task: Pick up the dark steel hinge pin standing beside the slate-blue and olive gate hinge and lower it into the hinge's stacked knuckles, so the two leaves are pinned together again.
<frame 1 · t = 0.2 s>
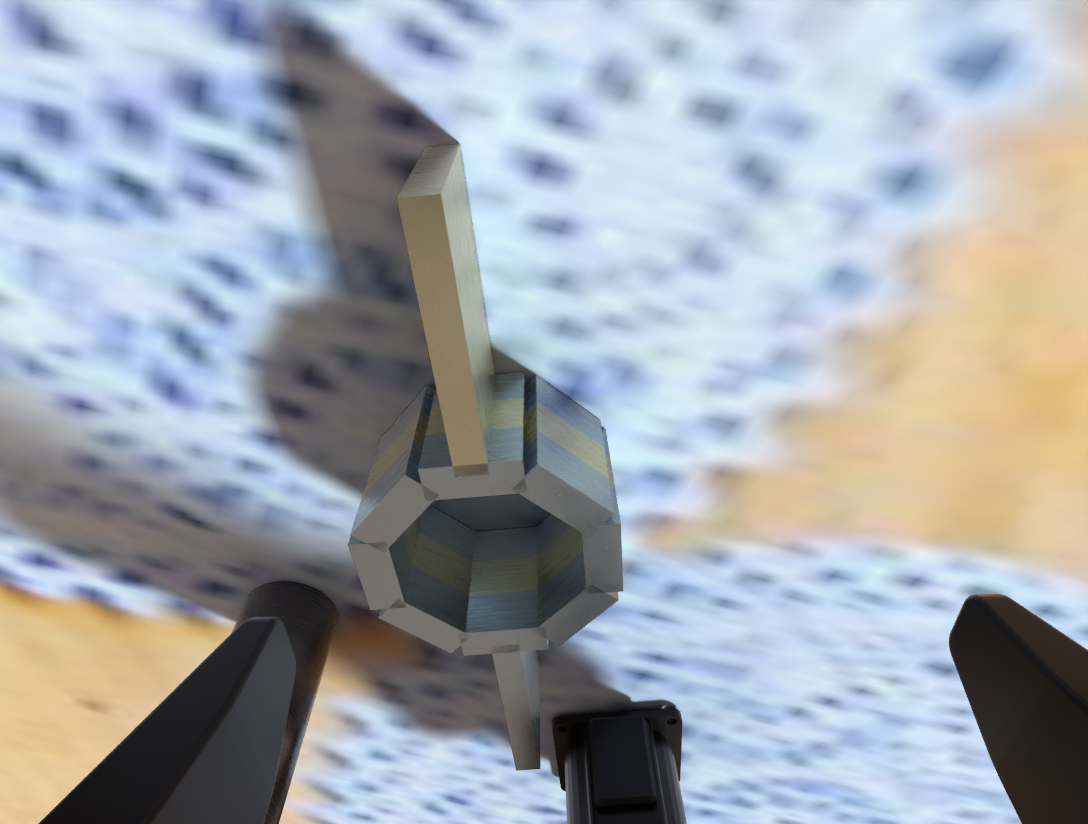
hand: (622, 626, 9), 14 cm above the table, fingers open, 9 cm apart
hinge pin: (291, 613, 30), on the table
hinge: (496, 470, 26), on the table
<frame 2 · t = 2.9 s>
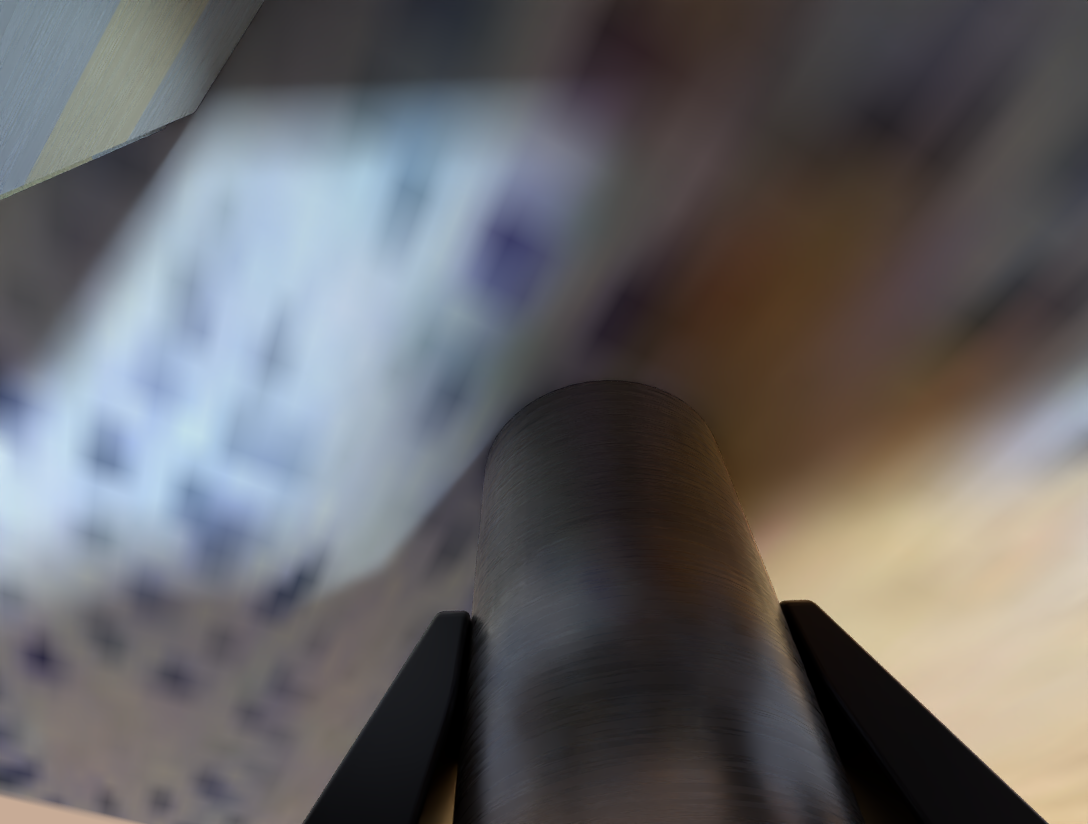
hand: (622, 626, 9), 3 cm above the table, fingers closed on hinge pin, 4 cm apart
hinge pin: (602, 482, 12), on the table, touching gripper
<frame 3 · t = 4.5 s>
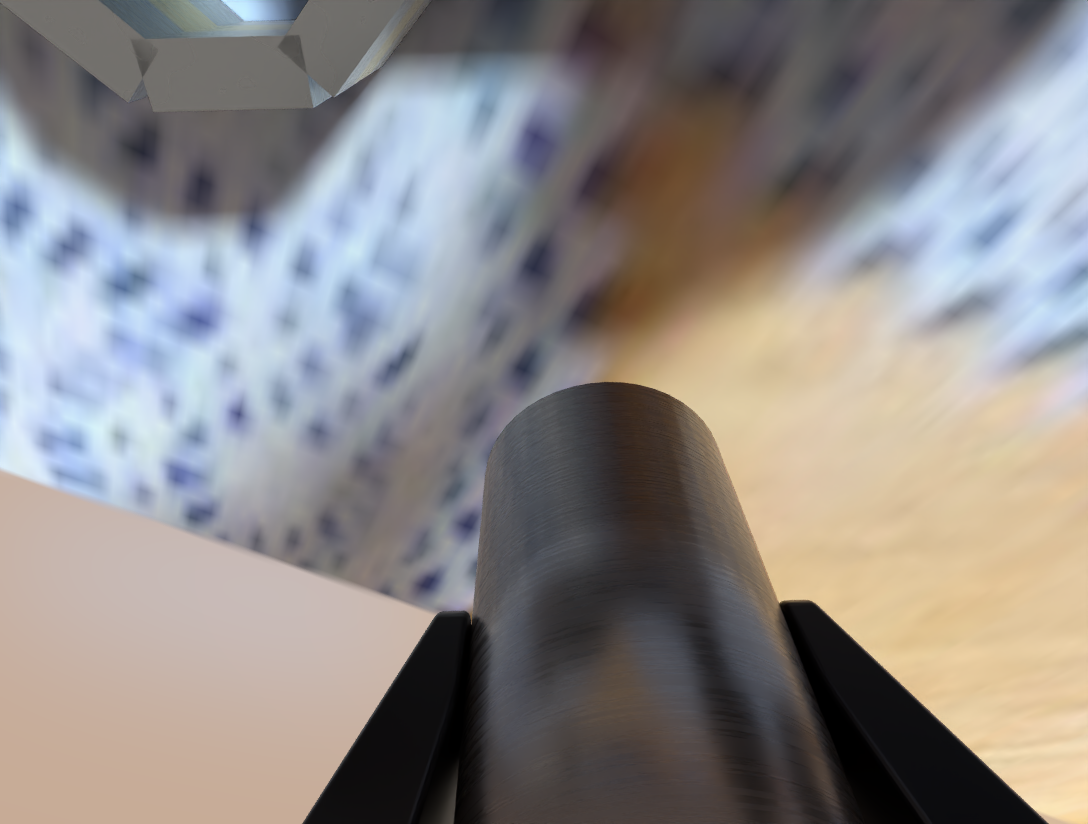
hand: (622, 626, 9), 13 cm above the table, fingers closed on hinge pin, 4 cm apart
hinge pin: (602, 483, 12), point 10 cm above the table, touching gripper
when the fingers open (6 cm above the table, at t = 6.5 s): hinge pin drops 3 cm, resting in hinge.
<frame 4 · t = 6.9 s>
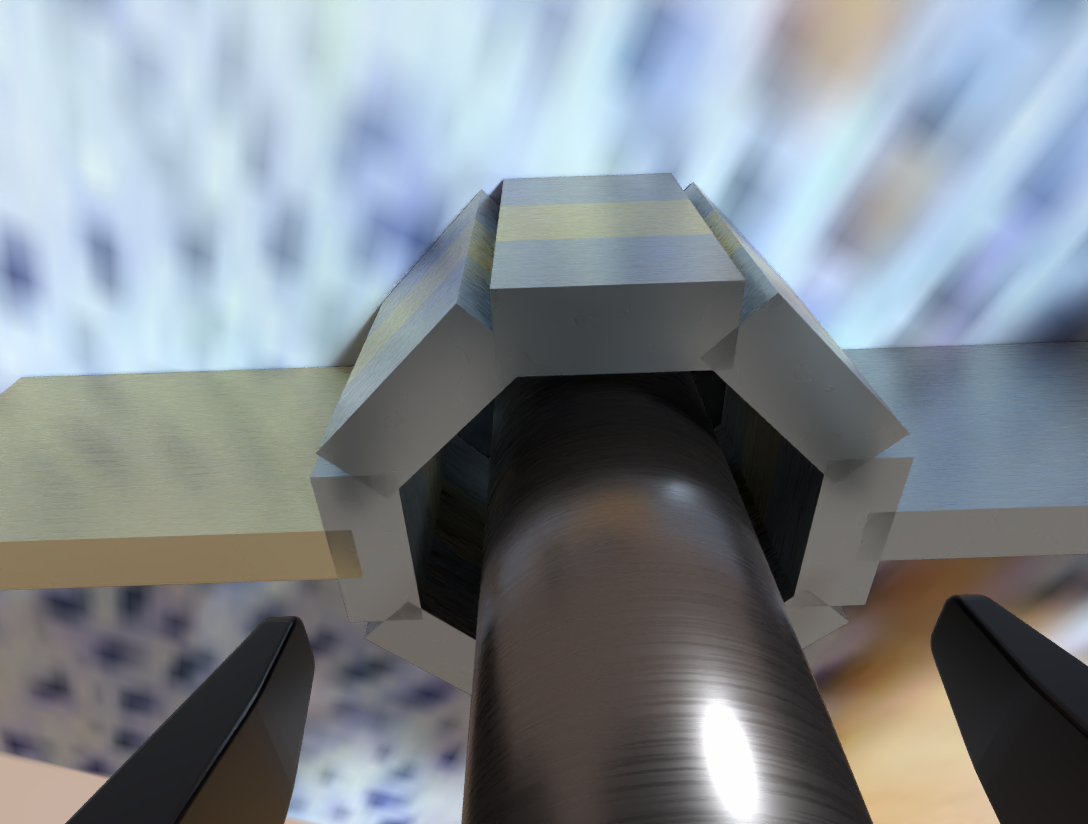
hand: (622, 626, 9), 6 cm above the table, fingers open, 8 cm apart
hinge pin: (590, 380, 15), resting in hinge
hinge: (586, 379, 14), on the table
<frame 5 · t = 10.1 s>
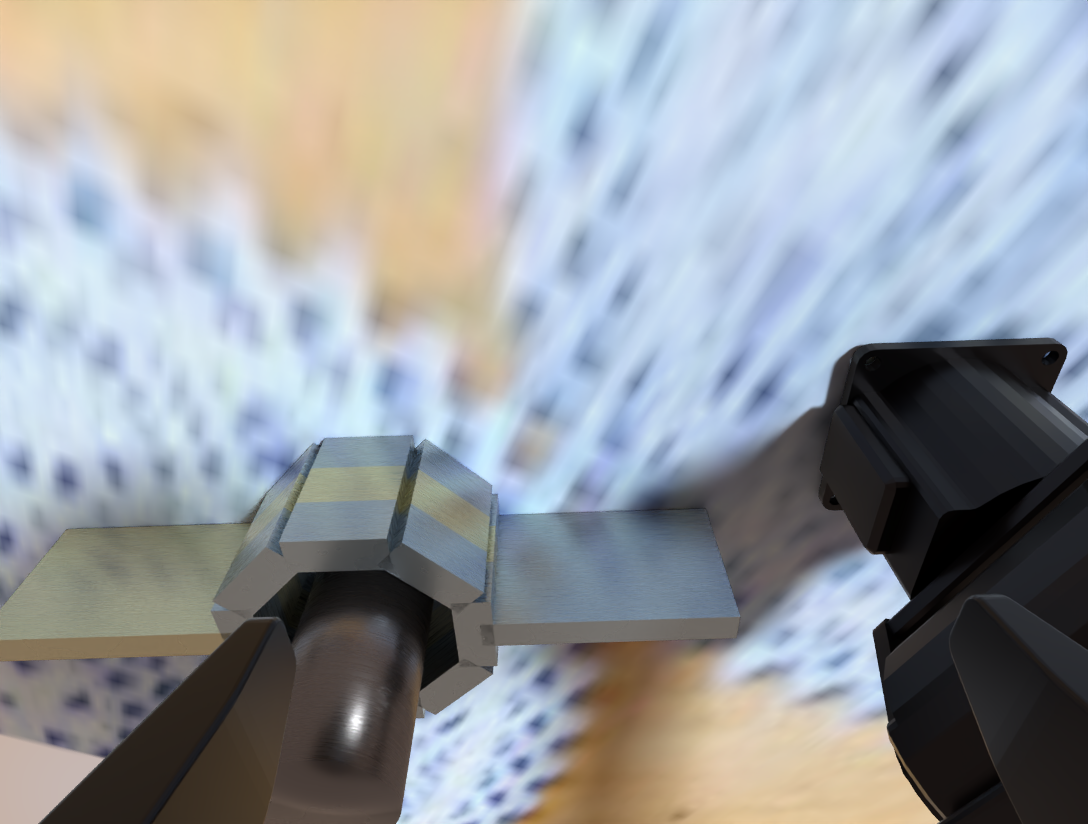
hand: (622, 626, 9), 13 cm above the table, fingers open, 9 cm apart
hinge pin: (390, 529, 25), resting in hinge
hinge: (387, 528, 25), on the table
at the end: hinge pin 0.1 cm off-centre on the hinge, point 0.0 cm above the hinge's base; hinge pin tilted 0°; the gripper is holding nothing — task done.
